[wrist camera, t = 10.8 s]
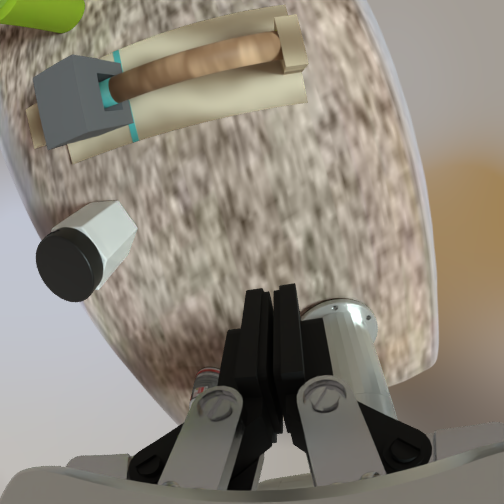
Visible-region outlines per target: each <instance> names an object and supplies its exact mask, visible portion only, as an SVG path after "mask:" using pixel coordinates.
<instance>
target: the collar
mask: <svg viewBox="0 0 504 504" xmlns="http://www.w3.org/2000/svg"><path fill="white" fill-rule="evenodd" d="M120 73H122V68H121V63H117V62H112V61H107V60H101V59H96V58H90V57H84V56H78V55H70V56H68V57H67V58H65V59H63V60H61V61H60V62H58V63H56V64H55V65H53V66H51V67H50V68H48V69H46V70H45V71H43V72H41V73H40V74H38V75H37V76H35V77H34V78H33V82H34V88H35V94H36V100H37V105H38V110H39V115H40V119H41V124H42V128H43V132H44V137H45V141H46V145H47V149H48V150H50V149H53V148H57V147H60V146H63V145H67V144H70V143H74V142H77V141H81V140H85V139H88V138H92V137H96V136H100V135H102V134H105V133H107V132H110V131H113V130H115V129H118V128H121V127H124V126H126V125H129V124H132V123H134V121H133V117H132V113H131V109H130V104H129V100H126V101H123V102H121V103H118V104H116V105H113V106H110V107H108V108H106V109H104V106H103V101H102V97H101V92H100V87H99V82H101V81H104V80H106V79H108V78H110V77H113V76H115V75H118V74H120Z"/></svg>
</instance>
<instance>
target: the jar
mask: <svg viewBox="0 0 504 504" xmlns="http://www.w3.org/2000/svg"><path fill="white" fill-rule="evenodd" d="M136 231H137V226H136V225H135V223H134V222H133V221H132V219H131V218H130V217H129V215H128V214H127V212H126V211H125V210H124V208H123V207H122V205H121V204H120V202H119V201H117V200H116V201H103V202H91V203H89V204H87V205H86V206H84V207H83V208H81V209H80V210H78V211H77V212H75V213H74V214H72V215H71V216H69V217H68V218H66V219H65V220H63V221H62V222H60V223H59V224H57V225H56V226H55V227H53V228H52V231H51V233H50V234H48V235H47V236H46V237H45V238H44V239H43V240H42V241H41V242H40V244H39V245H38V248H37V251H36V264H37V268H38V271H39V274H40V276H41V278H42V280H43V281H44V283H45V284H46V286H47V287H48V288H49V289H50V290H51V291H52V292H53V293H54V294H55V295H57V296H59V297H60V298H62V299H64V300H66V301H70V302H81V301H84V300H86V299H87V298H88V297H89V296H90V295H91V294H92V293H93V291H94V290H99V289H100V288H101V286H102V285H103V284H104V283H105V282H106V280H107V279H108V278H109V277H110V276H111V274H112V273H113V272H114V271H115V270H116V268H117V267H118V266H119V265H120V264H121V262H122V261H123V260H124V259H125V258H126V257H127V255H128V254H129V251H130V248H131V245H132V242H133V240H134V237H135V234H136Z"/></svg>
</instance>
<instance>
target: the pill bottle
mask: <svg viewBox="0 0 504 504" xmlns="http://www.w3.org/2000/svg"><path fill="white" fill-rule="evenodd" d="M219 373H220V370H219V369H217V368H203V369H201V370H200V371H199V372H198V373H197V375H196V378H195V383H194V387H193V390H192V395H191V399H190V403H189V409H190V408H191V405H192V403H193V401H194V400H195V398H196V397H197V396H198V395H199V394H200V393H201V392H203V391H205V390H207V389H208V388H212V387H215V386H217V384H218V378H219Z"/></svg>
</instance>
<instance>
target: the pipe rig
mask: <svg viewBox="0 0 504 504" xmlns="http://www.w3.org/2000/svg"><path fill="white" fill-rule="evenodd" d="M99 59H101V60H107V61H112V62H117V63H121V68H122V73H120V74H118V75H115V76H113V77H110V78H108V79H106V80H104V81H101V82H99V87H100V92H101V97H102V101H103V106H104V109H106V108H108V107H110V106H113V105H116V104H118V103H121V102H123V101H126V100H129V104H130V109H131V113H132V117H133V121H134V123H132V124H129V125H126V126H124V127H121V128H118V129H115V130H113V131H110V132H107V133H105V134H102V135H100V136H96V137H92V138H88V139H85V140H81V141H77V142H74V143H70V144H67V145H68V149H69V153H70V156H71V160H72V163H73V164H75V163H78V162H80V161H83V160H86V159H88V158H91V157H93V156H96V155H99V154H102V153H104V152H107V151H110V150H113V149H116V148H118V147H121V146H124V145H127V144H130V143H133V142H136V141H140V140H143V139H146V138H149V137H152V136H156V135H159V134H163V133H166V132H169V131H173V130H177V129H180V128H184V127H188V126H192V125H195V124H199V123H203V122H208V121H212V120H216V119H220V118H225V117H229V116H234V115H238V114H243V113H248V112H253V111H259V110H264V109H270V108H275V107H281V106H287V105H294V104H301V103H308V101H307V96H306V91H305V86H304V81H303V76H302V71H303V70H304V69H305V68H306V66H307V65H308V64H309V63H308V59H307V55H306V50H305V46H304V42H303V38H302V33H301V29H300V25H299V22H298V18H297V14H296V15H288V13H287V9H286V6H285V5H278V6H272V7H265V8H259V9H253V10H248V11H243V12H238V13H233V14H229V15H224V16H220V17H216V18H212V19H208V20H204V21H200V22H197V23H193V24H190V25H186V26H183V27H180V28H177V29H173V30H170V31H167V32H164V33H161V34H158V35H156V36H153V37H150V38H147V39H145V40H142V41H139V42H137V43H134V44H132V45H129V46H127V47H124V48H122V49H120V50H117V51H114V52H113V53H110V54H108V55H106V56H104V57H102V58H99ZM26 114H27V119H28V124H29V128H30V132H31V137H32V141H33V145H34V149H36V148H40V147H43V146H46V141H45V137H44V132H43V128H42V124H41V119H40V115H39V110H38V105H37V103H36V104H34V105H32V106H31V107H29V108H28V109H26Z"/></svg>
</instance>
